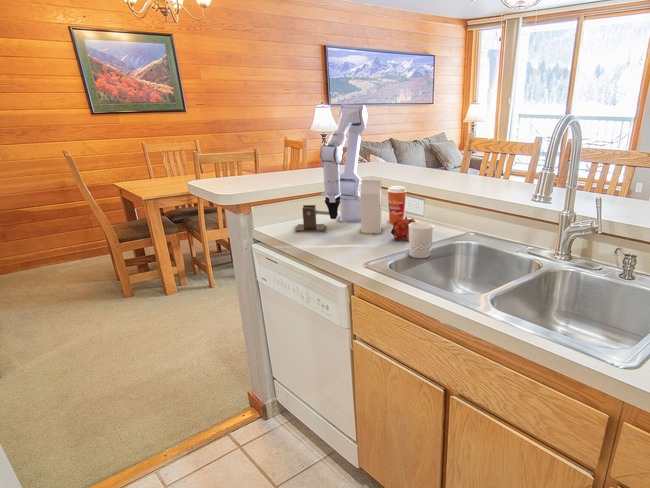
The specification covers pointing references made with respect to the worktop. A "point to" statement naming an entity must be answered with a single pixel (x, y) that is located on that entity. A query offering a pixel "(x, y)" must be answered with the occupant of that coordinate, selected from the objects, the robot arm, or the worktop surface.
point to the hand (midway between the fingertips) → (333, 217)
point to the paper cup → (396, 202)
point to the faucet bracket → (309, 220)
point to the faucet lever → (322, 212)
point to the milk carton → (370, 206)
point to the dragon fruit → (401, 228)
